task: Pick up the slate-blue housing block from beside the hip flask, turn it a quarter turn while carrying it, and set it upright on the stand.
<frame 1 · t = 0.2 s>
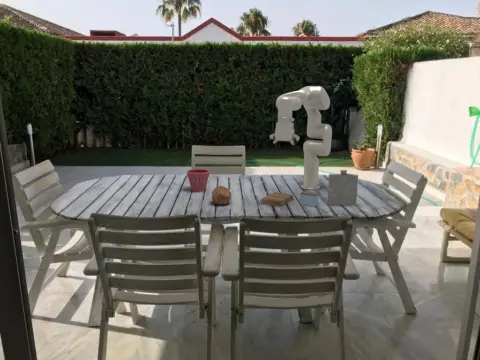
hand: (284, 151, 225), 31 cm above the table, tool pointing down, fingers open, 9 cm apart
plant pot: (198, 190, 264), on the table
stand: (277, 201, 237), on the table
hip flask: (341, 204, 231), on the table
housing: (308, 204, 231), on the table
decorative rock: (221, 203, 233), on the table
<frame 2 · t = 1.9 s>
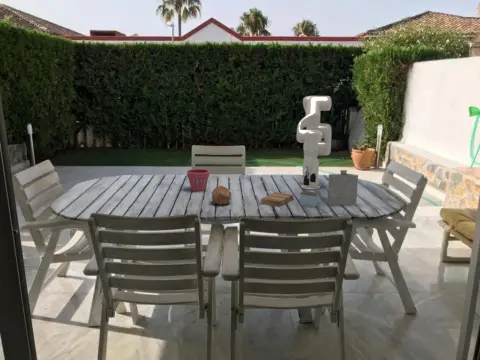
hand: (309, 183, 228), 12 cm above the table, tool pointing down, fingers open, 9 cm apart
nothing on the table moved.
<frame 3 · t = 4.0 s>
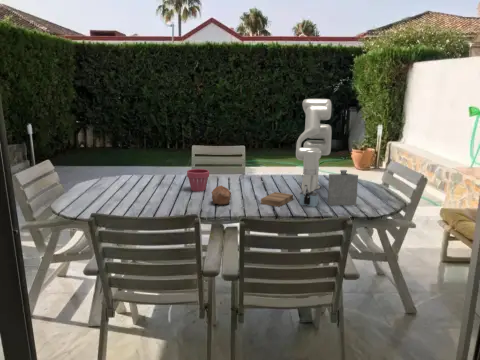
hand: (308, 202, 231), 1 cm above the table, tool pointing down, fingers closed on housing, 5 cm apart
housing: (308, 204, 231), on the table, touching gripper
everything else where it was.
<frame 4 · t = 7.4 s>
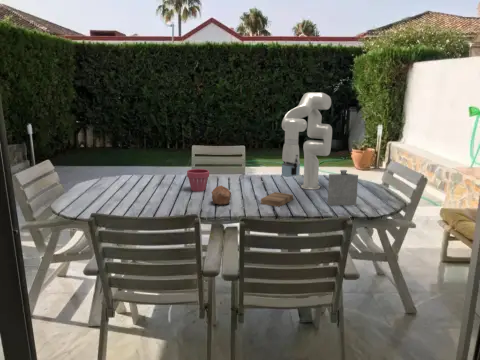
hand: (290, 173, 231), 17 cm above the table, tool pointing down, fingers closed on housing, 5 cm apart
housing: (290, 175, 231), point 16 cm above the table, touching gripper
everything else where it was.
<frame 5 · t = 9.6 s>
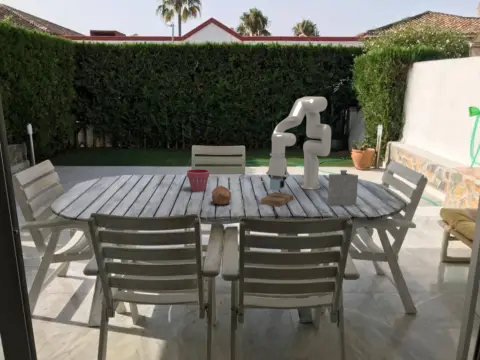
hand: (277, 186, 235), 9 cm above the table, tool pointing down, fingers closed on housing, 5 cm apart
housing: (277, 188, 235), point 8 cm above the table, touching gripper
everything else where it was.
when the fingers open (5 cm above the table, at t = 11.2 s): housing stays where it is, resting on stand.
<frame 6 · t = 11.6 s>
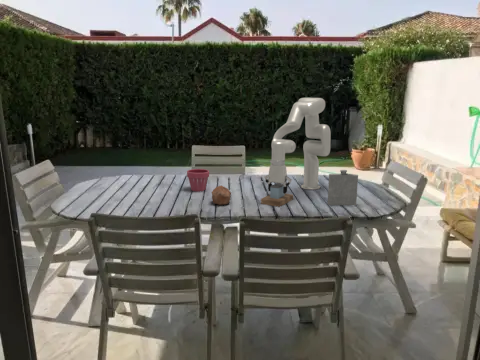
hand: (277, 191, 236), 6 cm above the table, tool pointing down, fingers open, 9 cm apart
housing: (277, 196, 236), point 3 cm above the table, touching stand
everything else where it was.
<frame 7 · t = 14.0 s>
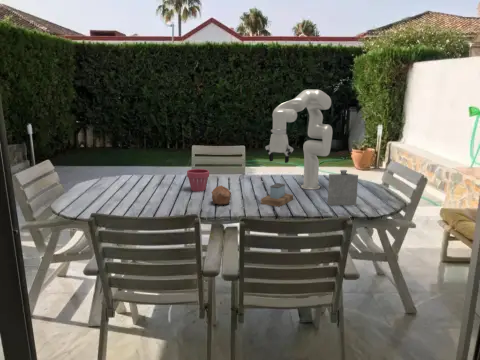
hand: (278, 161, 232), 23 cm above the table, tool pointing down, fingers open, 9 cm apart
nothing on the table moved.
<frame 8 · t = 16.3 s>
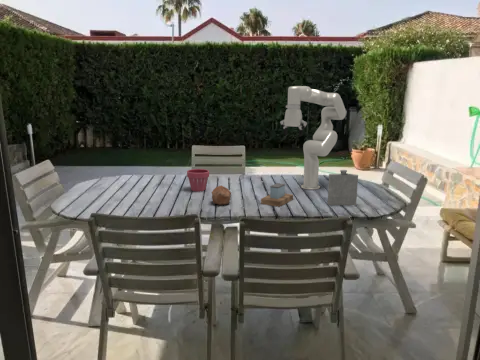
hand: (293, 135, 248), 36 cm above the table, tool pointing down, fingers open, 9 cm apart
nothing on the table moved.
at the end: housing inside the target area on the stand (0.1 cm from its centre), point 3.0 cm above the stand's base; housing tilted 0°; the gripper is holding nothing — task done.
